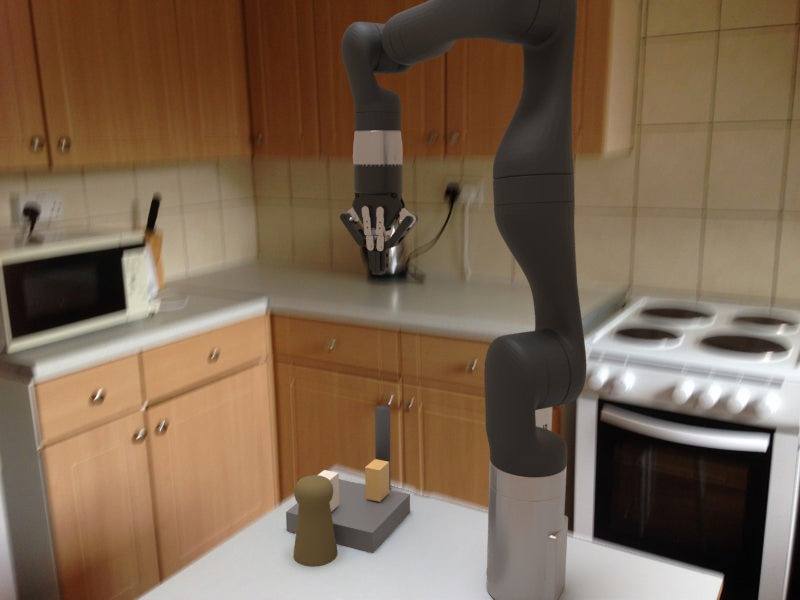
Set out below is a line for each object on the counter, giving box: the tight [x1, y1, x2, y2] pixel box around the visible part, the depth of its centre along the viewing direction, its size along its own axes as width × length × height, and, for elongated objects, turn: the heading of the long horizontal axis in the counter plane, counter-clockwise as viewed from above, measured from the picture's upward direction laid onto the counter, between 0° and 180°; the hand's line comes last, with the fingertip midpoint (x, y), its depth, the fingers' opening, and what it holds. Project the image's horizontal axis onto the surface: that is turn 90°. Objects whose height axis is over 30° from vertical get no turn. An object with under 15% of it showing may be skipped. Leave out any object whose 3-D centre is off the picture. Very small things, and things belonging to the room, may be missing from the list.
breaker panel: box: [285, 478, 411, 554], centre depth 108 cm, size 14×12×3 cm
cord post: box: [374, 405, 392, 490], centre depth 117 cm, size 2×2×14 cm
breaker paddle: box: [364, 458, 389, 502], centre depth 109 cm, size 2×3×5 cm
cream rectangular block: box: [317, 469, 340, 512], centre depth 105 cm, size 2×3×5 cm
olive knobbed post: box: [292, 474, 338, 567], centre depth 99 cm, size 6×6×11 cm
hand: (378, 273), depth 115 cm, fingers closed
